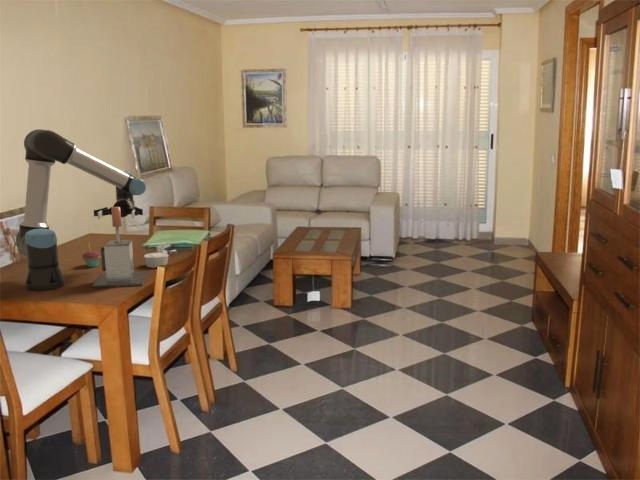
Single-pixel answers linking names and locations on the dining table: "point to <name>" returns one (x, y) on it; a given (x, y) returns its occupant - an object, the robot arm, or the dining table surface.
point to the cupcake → (91, 257)
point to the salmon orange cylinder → (116, 221)
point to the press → (118, 266)
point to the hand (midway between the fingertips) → (115, 215)
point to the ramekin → (156, 259)
